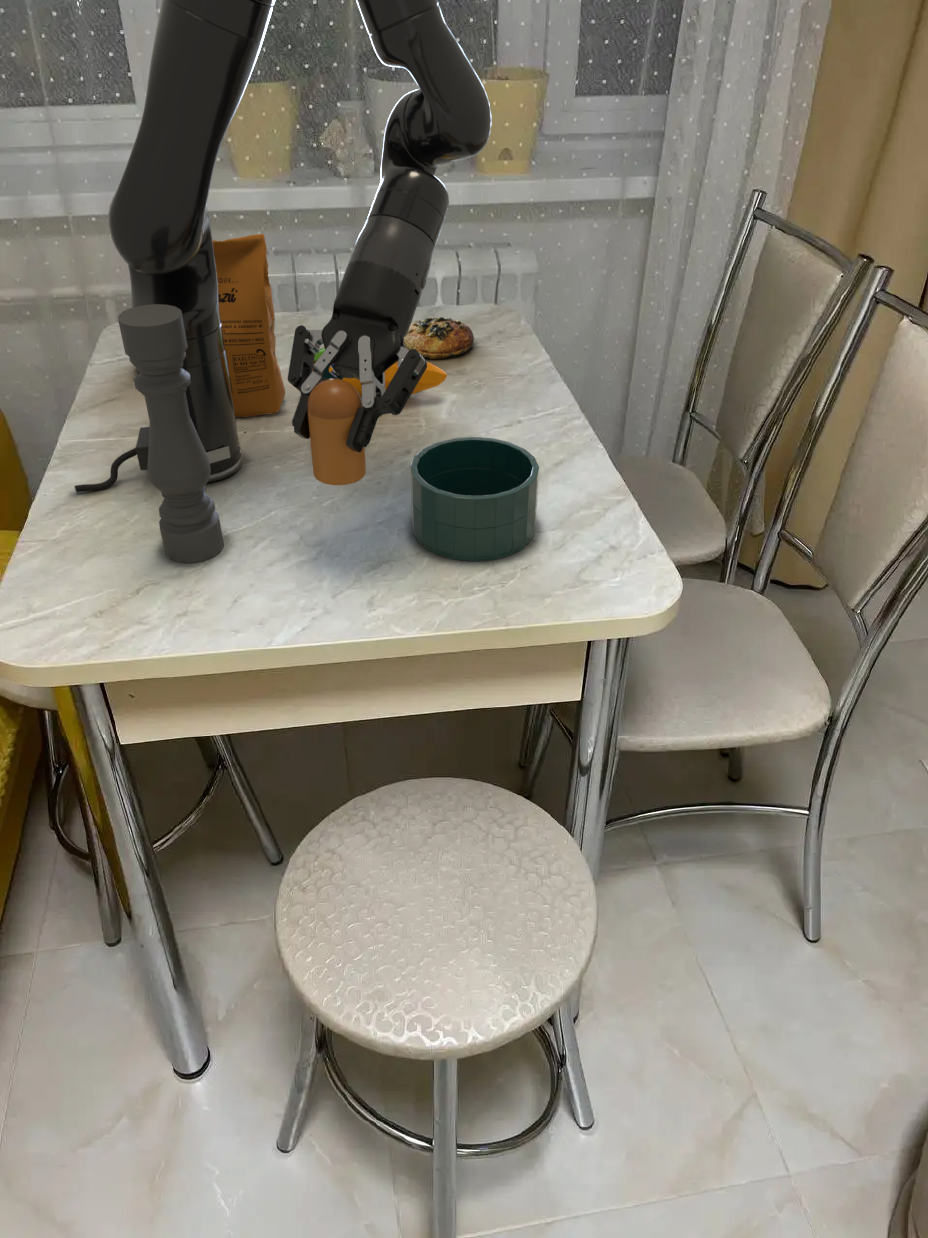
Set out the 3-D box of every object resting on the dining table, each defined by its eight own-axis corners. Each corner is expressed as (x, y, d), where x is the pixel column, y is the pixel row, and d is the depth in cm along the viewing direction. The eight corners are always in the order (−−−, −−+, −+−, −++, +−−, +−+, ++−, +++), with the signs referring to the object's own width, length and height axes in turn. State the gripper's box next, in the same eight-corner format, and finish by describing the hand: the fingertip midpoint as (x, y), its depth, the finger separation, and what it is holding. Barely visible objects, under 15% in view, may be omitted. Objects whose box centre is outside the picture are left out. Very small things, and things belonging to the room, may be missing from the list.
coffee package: (201, 387, 135) (173, 222, 122) (291, 387, 136) (273, 222, 122) (185, 419, 128) (154, 246, 114) (281, 419, 128) (261, 247, 114)
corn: (298, 333, 131) (447, 333, 131) (304, 384, 136) (447, 385, 136) (291, 358, 125) (446, 359, 126) (297, 411, 131) (447, 412, 131)
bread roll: (488, 339, 149) (485, 308, 146) (449, 373, 143) (445, 342, 139) (428, 327, 154) (424, 297, 151) (388, 360, 148) (382, 329, 144)
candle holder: (199, 524, 107) (157, 298, 92) (236, 544, 104) (199, 313, 89) (152, 548, 103) (100, 316, 88) (189, 569, 100) (142, 333, 85)
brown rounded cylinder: (314, 487, 94) (306, 394, 88) (312, 461, 98) (304, 371, 92) (368, 483, 95) (363, 391, 89) (363, 458, 99) (359, 368, 93)
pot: (420, 566, 101) (419, 503, 96) (406, 500, 112) (404, 441, 107) (547, 555, 103) (551, 493, 98) (521, 491, 113) (523, 433, 109)
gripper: (304, 246, 93) (244, 412, 92) (438, 270, 88) (377, 445, 87) (337, 285, 100) (282, 440, 99) (463, 309, 95) (407, 472, 94)
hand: (327, 441), depth 93 cm, fingers closed on brown rounded cylinder, 5 cm apart
